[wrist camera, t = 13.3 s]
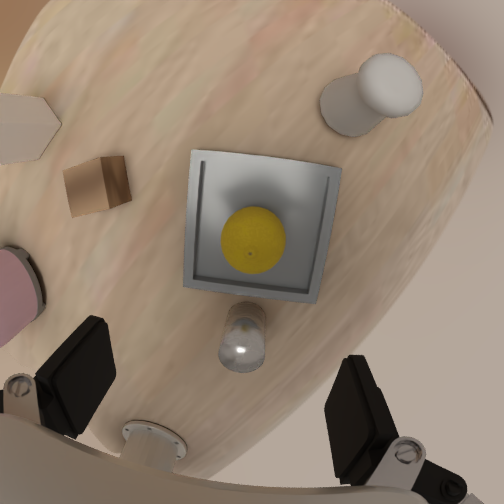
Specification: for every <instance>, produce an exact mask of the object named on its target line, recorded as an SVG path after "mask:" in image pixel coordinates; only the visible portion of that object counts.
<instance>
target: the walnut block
mask: <svg viewBox="0 0 504 504" xmlns="http://www.w3.org/2000/svg"><path fill="white" fill-rule="evenodd" d="M63 175H64V181H65V187H66V192H67V197H68V202H69V207H70V211H71V216H72V218H74V217H78V216H82V215H86V214H90V213H94V212H98V211H102V210H107V209H110V208H113V207H115V206H118V205H121V204H123V203H126V202H128V201H131V200H132V199H131V194H130V189H129V183H128V178H127V172H126V166H125V160H124V156H113V157H100V158H97V159H94V160H91V161H88V162H85V163H82V164H80V165H77V166H74V167H71V168H69V169H66V170H63Z"/></svg>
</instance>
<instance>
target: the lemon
mask: <svg viewBox="0 0 504 504" xmlns="http://www.w3.org/2000/svg"><path fill="white" fill-rule="evenodd" d="M285 245H286V234H285V231H284V227H283V225H282V223H281V221H280V220H279V218H278V217H277V216H276V215H275V214H274V213H272V212H271V211H269V210H267V209H265V208H261V207H254V206H251V207H246V208H242V209H240V210H238V211H236V212H235V213H234V214H232V215H231V216H230V217H229V218H228V220H227V221H226V223H225V224H224V227H223V229H222V232H221V248H222V252H223V254H224V257H225V259H226V260H227V261H228V263H229V264H230V265H231V266H232V267H234V268H235V269H236V270H238V271H241V272H243V273H247V274H259V273H262V272H266V271H267V270H269V269H271V268H272V267H273V266H274V265H275V264H276V263H277V262H278V261H279V260H280V258H281V256H282V255H283V252H284V249H285Z"/></svg>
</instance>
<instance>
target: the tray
mask: <svg viewBox="0 0 504 504" xmlns="http://www.w3.org/2000/svg"><path fill="white" fill-rule="evenodd" d="M341 172H342V168H337V167H332V166H326V165H320V164H315V163H308V162H302V161H296V160H289V159H282V158H274V157H267V156H259V155H250V154H241V153H231V152H219V151H207V150H191V160H190V171H189V183H188V196H187V210H186V227H185V247H184V277H183V287H187V288H194V289H201V290H207V291H214V292H221V293H228V294H236V295H243V296H251V297H259V298H267V299H275V300H284V301H292V302H302V303H311V304H316V301H317V297H318V292H319V288H320V284H321V279H322V275H323V270H324V266H325V261H326V256H327V251H328V246H329V241H330V236H331V231H332V225H333V220H334V214H335V209H336V203H337V197H338V191H339V185H340V178H341ZM251 206H254V207H261V208H265V209H267V210H269V211H271V212H272V213H274V214H275V215H276V216H277V217H278V218H279V220H280V221H281V223H282V225H283V227H284V231H285V234H286V245H285V249H284V252H283V255H282V256H281V258H280V260H279V261H278V262H277V263H276V264H275V265H274V266H273V267H272V268H271V269H269V270H267V271H266V272H262V273H259V274H247V273H243V272H241V271H238V270H236V269H235V268H234V267H232V266H231V265H230V264H229V263H228V261H227V260H226V259H225V257H224V254H223V252H222V248H221V232H222V229H223V227H224V224H225V223H226V221H227V220H228V218H229V217H230V216H231V215H232V214H234V213H235V212H236V211H238V210H240V209H242V208H246V207H251Z"/></svg>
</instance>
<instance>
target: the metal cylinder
mask: <svg viewBox="0 0 504 504" xmlns="http://www.w3.org/2000/svg"><path fill="white" fill-rule="evenodd" d="M265 327H266V316H265V313H264V311H263V310H262V308H261V307H259V306H258V305H256V304H254V303H251V302H241V303H238V304H236V305H234V306H233V307H232V308H231V309H230V310H229V313H228V316H227V320H226V324H225V328H224V332H223V336H222V340H221V344H220V348H219V353H218V355H219V359H220V361H221V363H222V364H223V365H224V366H225V367H226V368H228V369H229V370H232V371H234V372H239V373H248V372H252V371H254V370H256V369H258V368H259V367H260V366H261V365H262V364H263V362H264V358H265Z"/></svg>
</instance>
